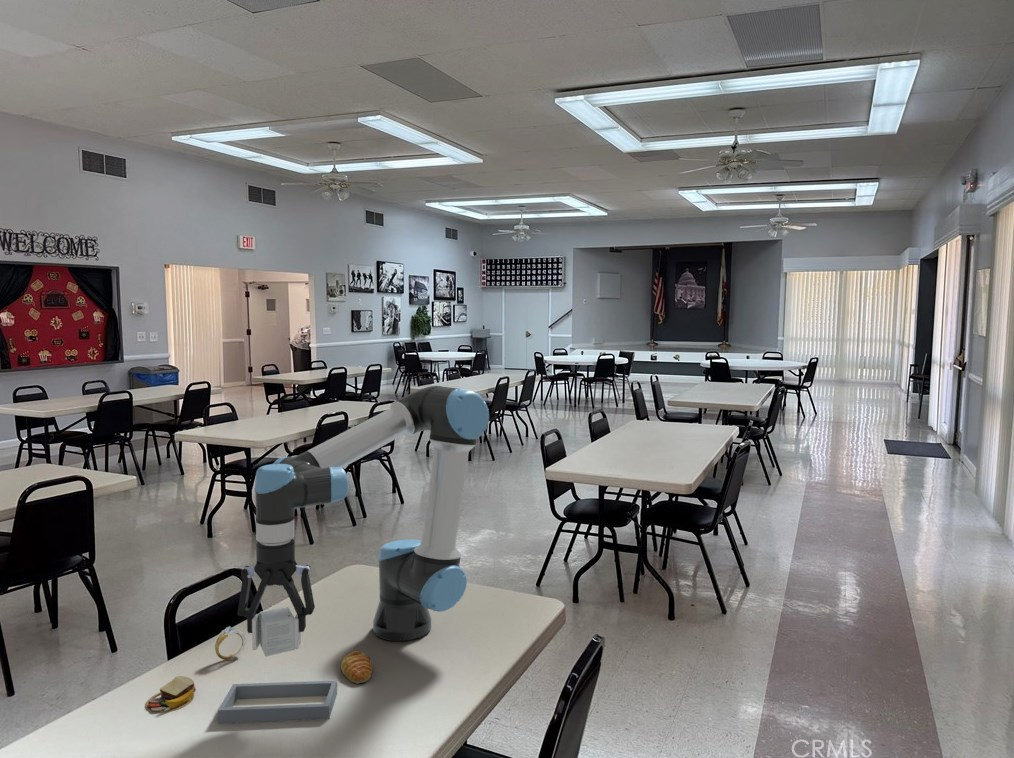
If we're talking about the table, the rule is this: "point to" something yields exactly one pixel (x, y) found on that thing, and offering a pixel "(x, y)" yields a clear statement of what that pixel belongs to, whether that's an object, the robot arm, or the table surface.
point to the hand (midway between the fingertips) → (277, 646)
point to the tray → (278, 702)
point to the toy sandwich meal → (172, 695)
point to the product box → (276, 631)
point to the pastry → (357, 667)
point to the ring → (227, 632)
